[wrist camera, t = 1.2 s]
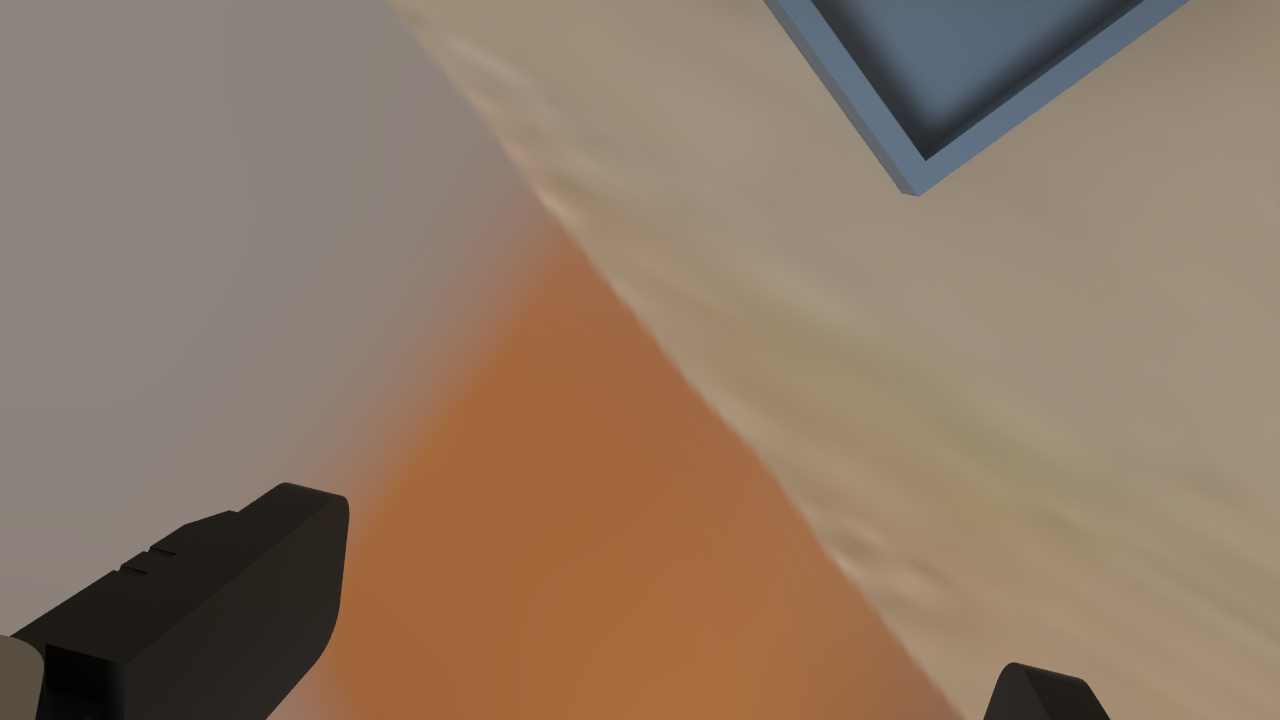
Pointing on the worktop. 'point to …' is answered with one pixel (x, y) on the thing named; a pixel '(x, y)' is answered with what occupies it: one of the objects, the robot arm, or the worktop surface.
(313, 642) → the robot arm
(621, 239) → the worktop surface
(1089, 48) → the slate-blue tray
